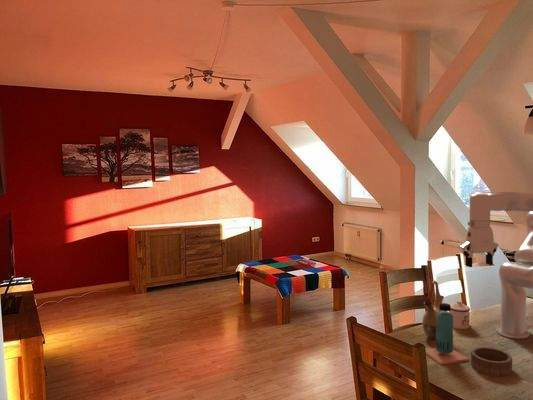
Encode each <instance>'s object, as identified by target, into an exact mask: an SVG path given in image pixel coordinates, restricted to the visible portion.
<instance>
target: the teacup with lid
mask: <svg viewBox="0 0 533 400" xmlns="http://www.w3.org/2000/svg"><path fill="white" fill-rule="evenodd" d="M449 305H450V307H451V311H448V312H450V313H451V314H452V315H453V317H454V318H453V329H458V330H467V329H469V328H470V312H471V308H470V307H469V306H468V305H466V304H465V303H463V302H462V301H461V300H457V301H456V302H455V303H451V304H450V303H449Z"/></svg>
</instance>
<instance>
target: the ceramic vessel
mask: <svg viewBox="0 0 533 400" xmlns="http://www.w3.org/2000/svg"><path fill="white" fill-rule="evenodd" d="M434 287H435V293H434ZM433 293H434V294H435V297H434V298H435V299H434V302H433ZM444 298H445V296H444V295H441V293H440V288H439V283H438V281H437V280H433V281H432V282H431V284H430V289H429V292H428V294H427V296H426V298H425V300H424V301H423V305H424V306H425V308H426V311H425V313H424V314H423V317H422V323H421V325H422V330H423V332H424V333H425V336H427V337H428V338H429V339H430V340H436V317H437V316H436V314H437V313H438V312H440V311H441V310H440V309H439V307H440V304H441V303H443V300H444Z"/></svg>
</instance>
